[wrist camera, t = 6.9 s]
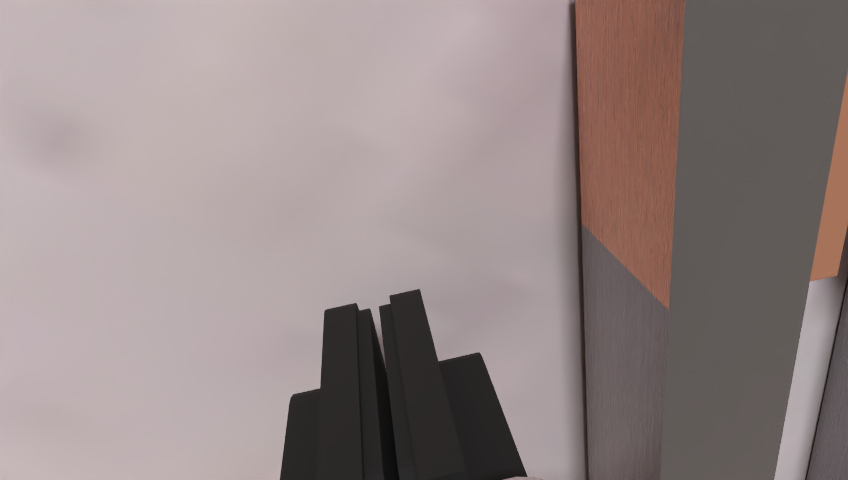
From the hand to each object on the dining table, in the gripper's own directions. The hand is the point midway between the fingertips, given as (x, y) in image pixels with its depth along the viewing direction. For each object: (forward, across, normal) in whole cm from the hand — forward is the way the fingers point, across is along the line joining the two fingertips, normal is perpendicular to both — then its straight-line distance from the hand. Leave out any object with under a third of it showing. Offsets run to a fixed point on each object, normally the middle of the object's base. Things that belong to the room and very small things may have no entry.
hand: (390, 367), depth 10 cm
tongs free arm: (+1, -6, +6) cm, 9 cm away
